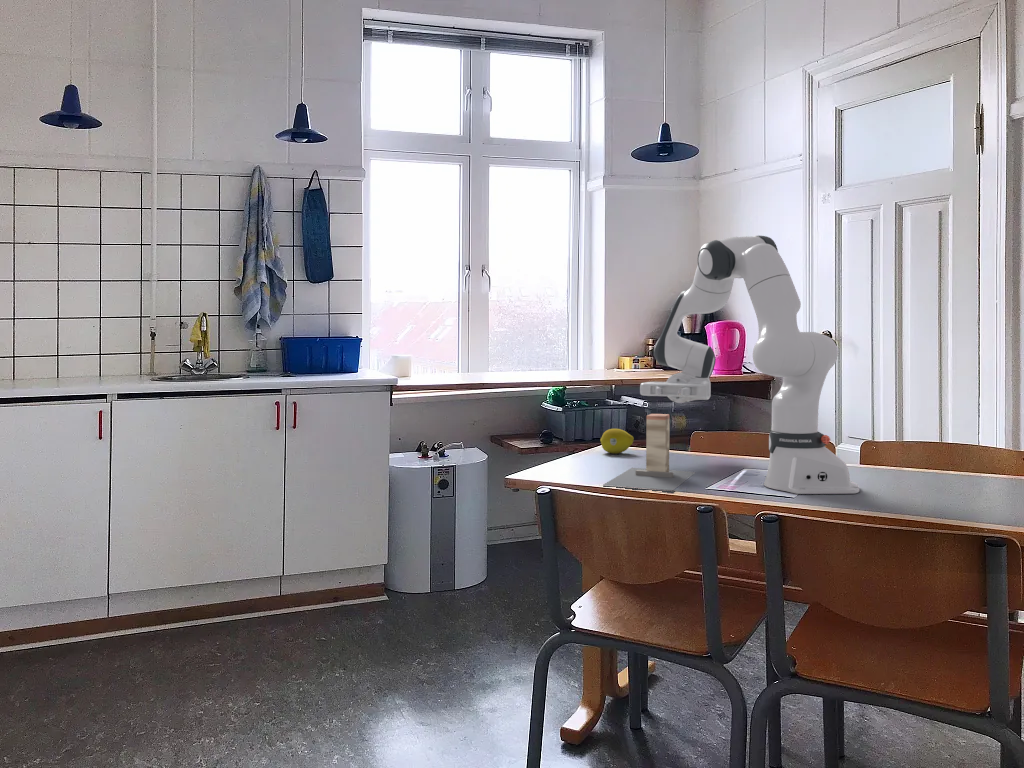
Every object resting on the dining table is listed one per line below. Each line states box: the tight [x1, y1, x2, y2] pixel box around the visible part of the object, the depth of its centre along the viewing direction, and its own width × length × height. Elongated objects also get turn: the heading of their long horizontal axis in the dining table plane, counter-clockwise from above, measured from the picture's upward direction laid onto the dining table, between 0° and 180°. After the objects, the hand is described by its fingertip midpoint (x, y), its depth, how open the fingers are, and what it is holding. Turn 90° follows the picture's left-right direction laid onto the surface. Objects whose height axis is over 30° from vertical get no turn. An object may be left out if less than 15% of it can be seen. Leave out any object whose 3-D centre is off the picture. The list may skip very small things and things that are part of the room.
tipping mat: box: [602, 467, 697, 494], centre depth 218 cm, size 26×18×2 cm
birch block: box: [645, 413, 670, 472], centre depth 224 cm, size 5×5×16 cm
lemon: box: [599, 428, 634, 455], centre depth 263 cm, size 11×8×8 cm
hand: (669, 391), depth 234 cm, fingers open, 5 cm apart
